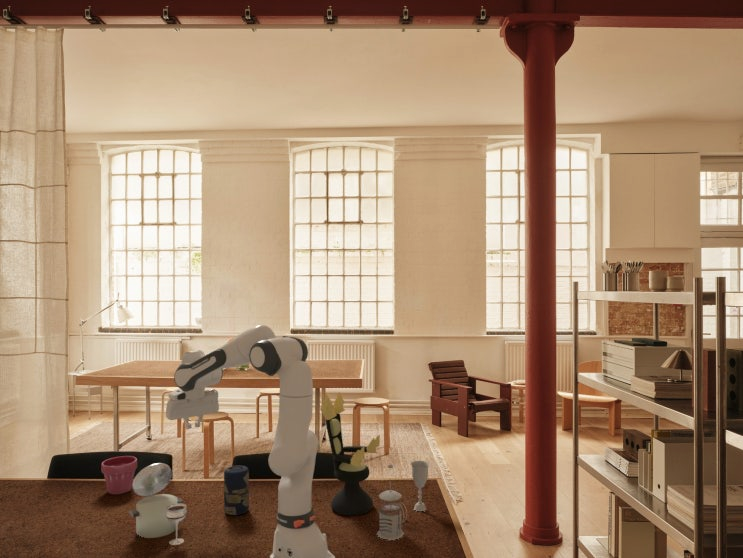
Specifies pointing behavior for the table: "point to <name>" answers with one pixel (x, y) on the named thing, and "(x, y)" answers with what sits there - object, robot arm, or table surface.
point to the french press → (395, 529)
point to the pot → (154, 515)
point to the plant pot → (119, 473)
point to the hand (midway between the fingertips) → (193, 427)
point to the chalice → (420, 480)
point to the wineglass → (176, 518)
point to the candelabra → (347, 463)
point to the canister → (236, 490)
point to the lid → (152, 479)
